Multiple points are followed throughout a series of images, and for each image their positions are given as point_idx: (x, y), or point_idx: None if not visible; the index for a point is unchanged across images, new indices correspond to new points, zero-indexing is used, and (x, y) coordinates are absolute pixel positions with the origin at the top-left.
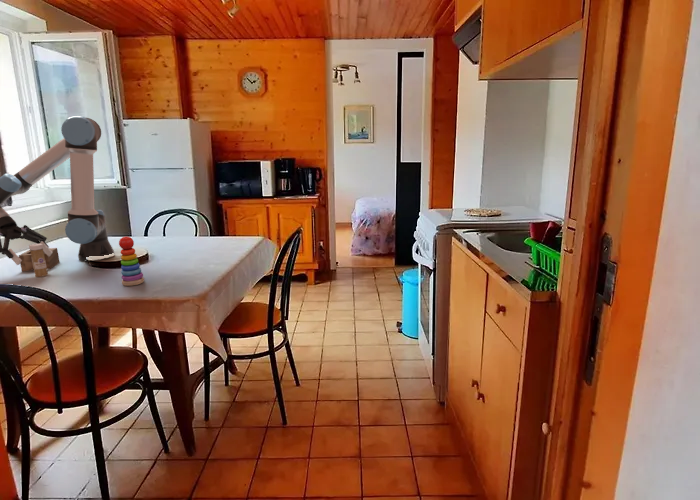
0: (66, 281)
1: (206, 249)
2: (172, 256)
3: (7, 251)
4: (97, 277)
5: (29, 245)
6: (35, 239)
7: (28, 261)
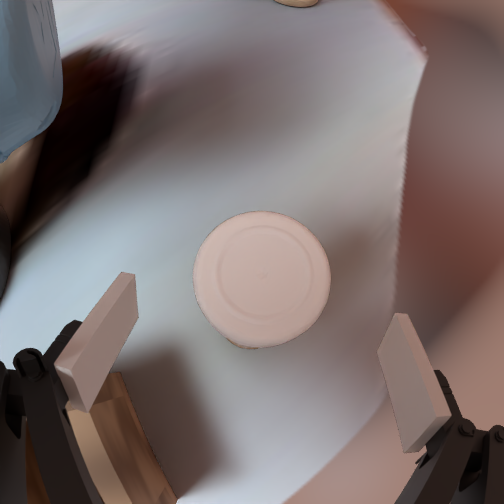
0: (318, 132)
1: None
2: None
3: (453, 413)
4: (253, 68)
5: (307, 323)
6: (68, 433)
7: (145, 484)
